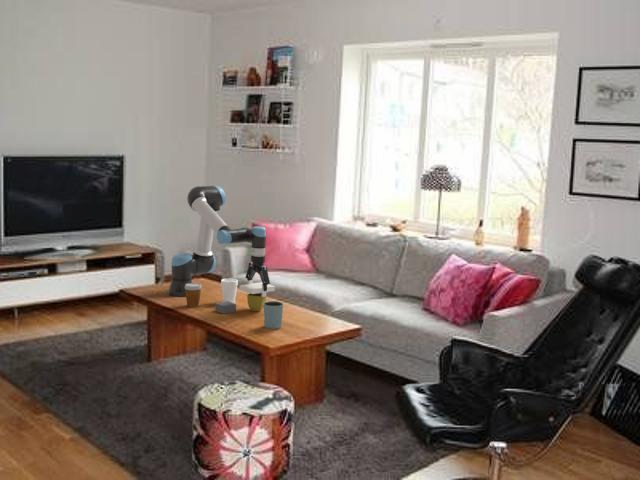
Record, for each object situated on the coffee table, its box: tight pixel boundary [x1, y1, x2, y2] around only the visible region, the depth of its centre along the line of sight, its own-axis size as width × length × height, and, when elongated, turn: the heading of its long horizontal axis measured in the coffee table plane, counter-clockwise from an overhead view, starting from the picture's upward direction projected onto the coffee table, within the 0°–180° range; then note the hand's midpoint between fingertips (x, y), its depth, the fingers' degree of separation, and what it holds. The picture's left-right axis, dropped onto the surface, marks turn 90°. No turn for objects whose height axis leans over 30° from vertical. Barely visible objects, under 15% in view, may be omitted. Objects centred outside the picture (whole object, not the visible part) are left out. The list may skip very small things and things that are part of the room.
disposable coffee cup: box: [184, 282, 203, 308], centre depth 399 cm, size 10×10×12 cm
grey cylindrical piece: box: [262, 300, 284, 330], centre depth 366 cm, size 10×10×12 cm
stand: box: [214, 301, 237, 314], centre depth 392 cm, size 8×8×4 cm
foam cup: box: [220, 278, 239, 304], centre depth 409 cm, size 10×9×13 cm
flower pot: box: [246, 292, 268, 312], centre depth 397 cm, size 9×9×9 cm
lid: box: [239, 281, 276, 294], centre depth 395 cm, size 12×15×2 cm
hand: (257, 294), depth 396 cm, fingers closed on lid, 12 cm apart
